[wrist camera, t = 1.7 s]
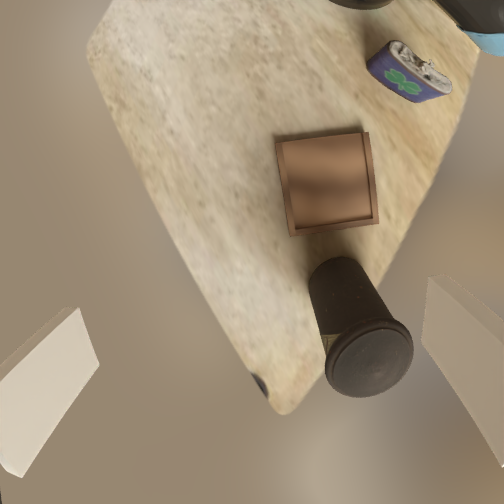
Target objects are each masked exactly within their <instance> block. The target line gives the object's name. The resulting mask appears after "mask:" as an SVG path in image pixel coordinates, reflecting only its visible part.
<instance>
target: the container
mask: <svg viewBox="0 0 504 504" xmlns="http://www.w3.org/2000/svg"><path fill="white" fill-rule="evenodd" d="M309 294H310V298H311V302H312V306H313V309H314V313H315V316H316V320H317V323H318V327H319V331H320V335H321V339H322V343H323V346H324V350H325V354H326V361H325V374H326V378H327V380H328V382H329V384H330V385H331V386H332V387H333V389H335V390H336V391H337V392H339V393H341V394H343V395H346V396H350V397H356V398H357V397H358V398H359V397H360V398H362V397H370V396H374V395H377V394H380V393H383V392H385V391H386V390H388V389H390V388H392V387H393V386H394V385H396V384H397V383H398V382H399V381H400V380H401V379H402V378H403V376H404V375H405V374H406V372H407V371H408V369H409V367H410V364H411V362H412V358H413V351H414V349H413V341H412V337H411V335H410V333H409V331H408V330H407V328H406V327H405V326H404V325H403V324H402V323H400V322H399V321H397V320H395V319H394V318H393V316H392V315H391V313H390V312H389V310H388V309H387V307H386V305H385V304H384V302H383V300H382V299H381V297H380V296H379V294H378V292H377V291H376V289H375V288H374V286H373V284H372V283H371V281H370V279H369V278H368V276H367V274H366V273H365V271H364V270H363V268H362V267H361V266H360V265H359V264H358V263H357V262H356V261H354V260H352V259H350V258H345V257H337V258H333V259H330V260H328V261H326V262H324V263H323V264H321V265H320V266H319V267H318V268H317V269H316V271H315V272H314V273H313V275H312V277H311V280H310V283H309Z"/></svg>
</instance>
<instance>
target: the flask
mask: <svg viewBox="0 0 504 504" xmlns="http://www.w3.org/2000/svg"><path fill="white" fill-rule="evenodd" d="M429 61H430V64H428V63H427V62H425V61H423V60H421V59H420V58H419V57H417V56H416V55H415V54H414V53H413V52H412V51H411V50H410V49H409V48H408V47H407V46H406V45H405V44H403V43H402V42H400V41H395V40H394V41H389V42H388V43H387V44H386V45H385V46H384V47H383V48H382V49H381V50H380V51H379V52H377V53H376V54H375V55H374V56H373V57H372V58H371V59H369V61H368V63H367V64H366V68H367V70H368V72H369V73H370V74H371V75H372V76H373V77H374V78H375V79H377V80H378V81H379V82H381V83H382V85H384V86H385V87H387V88H388V89H390V90H392V91H394V92H395V93H397V94H398V95H400V96H402V97H403V98H405V99H407V100H409V101H411V102H414V103H421V102H423V101H426V100H429V99H433V98H436V97H439V96H443V95H448V94H449V93H450V92H451V91H452V84H451V81H450V80H449V79H448V78H447V77H446V76H444V75H443V74H441V73H439V72H437V71H436V70H434V69H433V68H431V67H435V65H434V63H433V62H432V60H429Z"/></svg>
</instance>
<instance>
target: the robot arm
mask: <svg viewBox="0 0 504 504" xmlns="http://www.w3.org/2000/svg"><path fill="white" fill-rule="evenodd" d="M329 1H331V2H333V3H336V4H338V5H341V6H344V7H348V8H352V9H360V10H371V9H377V8H381V7H384V6H386V5H388V4H389V3H391V2H392V1H393V0H329ZM432 1H434V2H435V3H436V4H437V5H438V6H439V7H440V8H441V9H442V10H443V11H444V12H445V13H446V14H447V15H448V16H449V17H450V18H451V19H452V20H453V21H454V22H455V23H456V26H457V27H458V28H459V29H460V30H461V31H462V32H464V33H466V34H467V35H468V36H469V37H470V39H471V40H472V41H473V42H474V43H475V44H476V45H477V46H478V47H479V48H480V49H481V50H483V51H484V52H486V53H489V54H492V55H495V56H504V0H432ZM421 343H422V344H423V346H424V347H425V349H426V350H427V351H428V353H429V354H430V356H431V357H432V358H433V360H434V361H435V363H436V364H437V366H438V367H439V369H440V370H441V371H442V373H443V374H444V376H445V377H446V379H447V380H448V382H449V383H450V385H451V386H452V387H453V389H454V391H455V392H456V394H457V395H458V397H459V398H460V400H461V401H462V403H463V404H464V406H465V407H466V409H467V410H468V412H469V414H470V415H471V417H472V418H473V420H474V422H475V423H476V425H477V426H478V428H479V430H480V431H481V433H482V435H483V436H484V438H485V440H486V441H487V443H488V445H489V446H490V448H491V450H492V451H493V453H494V455H495V457H496V458H497V460H498V462H499V464H500V465H501V467H504V321H503V320H502V319H501V318H500V317H499V316H498V315H496V314H495V313H494V312H492V311H491V310H490V309H489V308H488V307H487V306H485V305H484V304H483V303H482V302H481V301H479V300H478V299H477V298H476V297H474V296H473V295H472V294H471V293H469V292H468V291H467V290H465V289H464V288H463V287H462V286H461V285H459V284H458V283H457V282H455V281H454V280H453V279H451V278H450V277H449V276H447V275H446V274H442V275H436V276H429V277H428V286H427V297H426V306H425V315H424V324H423V330H422V337H421ZM98 366H99V362H98V360H97V357H96V355H95V352H94V349H93V347H92V344H91V341H90V338H89V336H88V333H87V330H86V327H85V324H84V321H83V319H82V315H81V312H80V309H79V307H69V308H68V307H66V308H64V309H63V310H61V311H60V312H59V313H58V314H57V315H56V316H54V317H53V318H52V319H51V320H50V321H48V322H47V323H46V324H45V325H44V326H43V327H42V328H40V329H39V330H38V331H37V332H36V333H35V334H34V335H32V336H31V337H30V338H29V339H28V340H27V341H26V342H25V343H23V344H22V345H21V347H19V348H18V349H17V350H16V351H15V352H14V353H12V354H11V355H10V356H9V357H8V358H7V359H6V360H5V361H4V362H3V363H2V364H1V365H0V463H1V465H2V466H3V467H4V468H5V470H6V471H8V472H9V473H12V474H14V475H16V476H18V477H20V478H22V477H23V476H24V474H25V473H26V471H27V469H28V468H29V466H30V465H31V463H32V462H33V460H34V459H35V457H36V456H37V454H38V452H39V451H40V450H41V448H42V447H43V445H44V443H45V442H46V440H47V439H48V438H49V436H50V435H51V433H52V432H53V430H54V429H55V427H56V426H57V424H58V423H59V421H60V420H61V418H62V417H63V416H64V414H65V413H66V411H67V410H68V408H69V407H70V405H71V404H72V403H73V401H74V400H75V398H76V397H77V396H78V394H79V393H80V391H81V390H82V388H83V387H84V386H85V384H86V383H87V381H88V380H89V379H90V377H91V376H92V375H93V373H94V372H95V370H96V369H97V368H98ZM0 504H2V501H1V494H0Z"/></svg>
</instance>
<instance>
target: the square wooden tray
mask: <svg viewBox="0 0 504 504" xmlns="http://www.w3.org/2000/svg"><path fill="white" fill-rule="evenodd" d="M275 147H276V153H277V159H278V164H279V170H280V176H281V183H282V189H283V195H284V201H285V208H286V214H287V221H288V227H289V234H290V237H291V236H298V235H304V234H311V233H318V232H325V231H332V230H339V229H345V228H352V227H359V226H366V225H373V224H379V215H378V204H377V193H376V184H375V175H374V167H373V159H372V152H371V145H370V138H369V132H363V133H354V134H344V135H334V136H325V137H317V138H309V139H301V140H294V141H287V142H279V143H275Z"/></svg>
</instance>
